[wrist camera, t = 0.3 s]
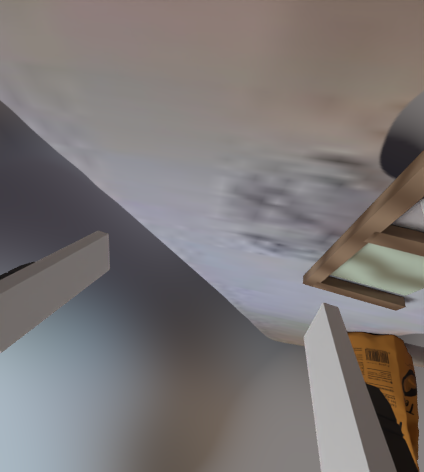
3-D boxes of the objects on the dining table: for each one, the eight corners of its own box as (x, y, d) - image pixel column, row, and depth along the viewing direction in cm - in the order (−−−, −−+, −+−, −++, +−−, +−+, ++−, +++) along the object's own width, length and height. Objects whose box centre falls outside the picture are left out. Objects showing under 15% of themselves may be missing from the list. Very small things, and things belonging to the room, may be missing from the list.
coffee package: (413, 349, 48) (439, 489, 37) (350, 342, 57) (355, 453, 45) (401, 333, 44) (428, 487, 32) (335, 328, 52) (336, 448, 41)
